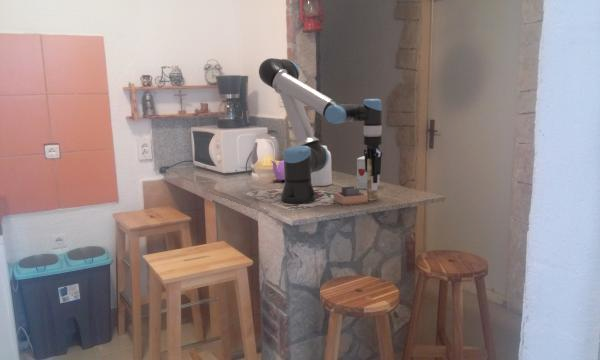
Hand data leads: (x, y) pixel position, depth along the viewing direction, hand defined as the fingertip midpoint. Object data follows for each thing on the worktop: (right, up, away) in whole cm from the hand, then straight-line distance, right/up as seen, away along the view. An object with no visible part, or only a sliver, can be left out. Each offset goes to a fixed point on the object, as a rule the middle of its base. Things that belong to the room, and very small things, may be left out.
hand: (372, 189), depth 210 cm
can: (-22, +2, +39) cm, 45 cm away
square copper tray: (-10, -5, -2) cm, 11 cm away
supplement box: (+2, 0, +28) cm, 28 cm away
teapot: (-39, +3, +51) cm, 65 cm away
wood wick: (0, -4, +1) cm, 4 cm away
